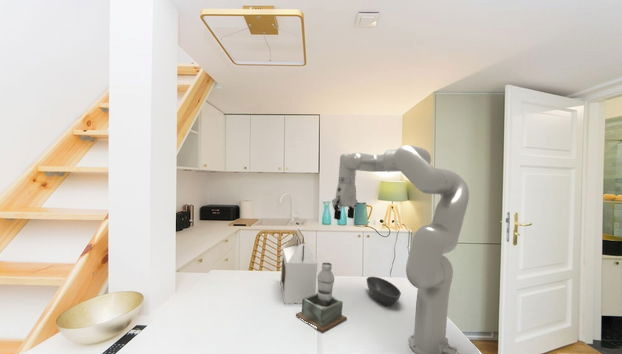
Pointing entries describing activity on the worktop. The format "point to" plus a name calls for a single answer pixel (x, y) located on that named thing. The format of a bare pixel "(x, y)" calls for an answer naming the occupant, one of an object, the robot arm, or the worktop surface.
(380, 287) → the bowl
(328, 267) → the silver bottle
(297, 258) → the gable box
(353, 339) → the worktop surface
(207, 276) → the worktop surface
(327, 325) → the bottle holder
